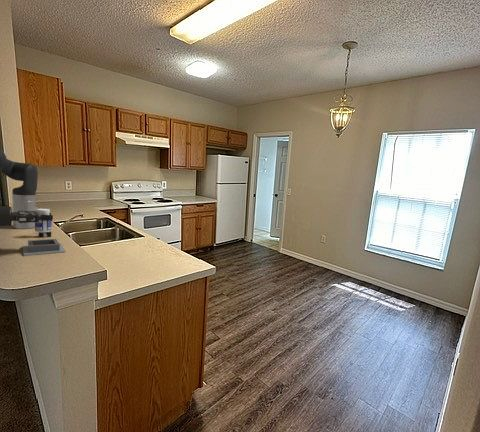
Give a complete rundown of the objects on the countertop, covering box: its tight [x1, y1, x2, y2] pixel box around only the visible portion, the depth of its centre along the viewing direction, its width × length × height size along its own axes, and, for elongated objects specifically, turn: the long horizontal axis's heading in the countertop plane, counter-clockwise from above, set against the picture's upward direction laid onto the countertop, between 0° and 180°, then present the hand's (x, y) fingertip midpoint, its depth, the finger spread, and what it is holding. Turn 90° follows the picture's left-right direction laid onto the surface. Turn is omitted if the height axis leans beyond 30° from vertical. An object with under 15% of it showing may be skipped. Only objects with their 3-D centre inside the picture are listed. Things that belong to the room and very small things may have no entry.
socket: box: [21, 238, 66, 257], centre depth 105 cm, size 13×13×3 cm
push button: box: [37, 230, 52, 238], centre depth 122 cm, size 7×5×10 cm
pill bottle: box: [34, 208, 53, 233], centre depth 104 cm, size 5×5×9 cm
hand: (51, 216), depth 105 cm, fingers closed on pill bottle, 5 cm apart
